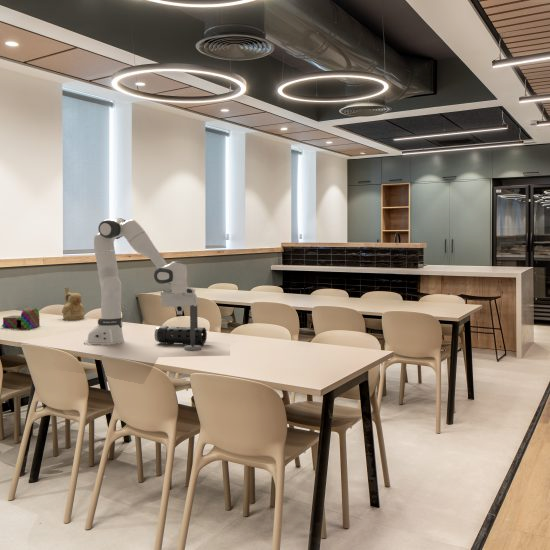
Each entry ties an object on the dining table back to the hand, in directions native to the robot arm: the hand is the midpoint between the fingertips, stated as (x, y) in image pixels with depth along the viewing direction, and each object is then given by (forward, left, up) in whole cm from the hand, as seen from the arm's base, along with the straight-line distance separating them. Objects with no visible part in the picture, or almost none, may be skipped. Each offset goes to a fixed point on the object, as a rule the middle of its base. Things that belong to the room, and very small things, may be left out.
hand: (179, 314), depth 319 cm
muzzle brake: (0, 0, -18) cm, 18 cm away
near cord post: (+8, -15, -17) cm, 24 cm away
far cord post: (+8, +15, -17) cm, 24 cm away
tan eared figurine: (-88, +113, -17) cm, 144 cm away
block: (-115, +80, -18) cm, 141 cm away
